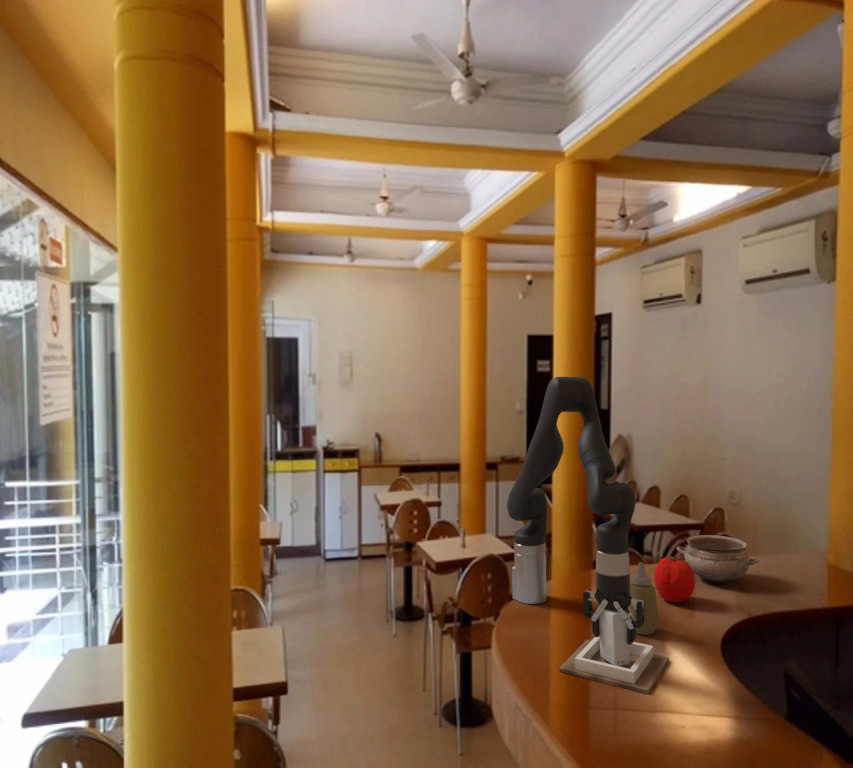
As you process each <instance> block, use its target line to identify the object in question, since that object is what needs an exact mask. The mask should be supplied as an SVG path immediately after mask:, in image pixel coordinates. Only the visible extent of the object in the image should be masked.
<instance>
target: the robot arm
mask: <svg viewBox="0 0 853 768" xmlns="http://www.w3.org/2000/svg"><path fill="white" fill-rule="evenodd" d="M541 407H542V408H541V412H540V416H539V419H538V422H537V425H536V428H535V431H534V433H533V437H532V438H531V442H530V444H529V446H528V448H527V449H528V450H527V452H526V454H525V455H526V456H525V459H524V461H523V465H522V466H521V470H520V472H519V475H518V476H517V478H516V480H515V482H514V484H513V486H512V487H511V490H510V492H509V495H508V497H507V503H506V509H507V513H508V515H509V518H511V519H512V520H513V521H520V522H521V521H523V522H524V521H527V523H526V524H525V525H524V526H522V527H521V528H519V529H517V530H515V531H514V534H513V542H514V543H513V548H514V549H513V550H514V551H513V553H514V566H512V568H511V575H512V576H511V579H512V580H511V582H512V586H511V587H512V599H513V600H516V601H518V602H520V603H522V604H528V605H530V604H531V605H534V604H535V605H536V604H537V605H538V604H541V603H545V601H546V600H547V573H546V572H547V569H546V567H547V566H546V563H547V562H546V535H547V527H548V526H547V525H548V523H547V521H548V501H547V496H546V493H545V492H544V491H543V490H542V488H539V487H538V486H539V485H541V484H542V483H543V482H545V480H547V479H548V478H549V477H550V476H551V475H552V474H553V473H555V471H556V470H557V468H558V466H559V465H560V461H561V459H562V456H563V454H564V450H565V447H564V441H563V438H562V436H561V433H560V431H559V429H558V419H559V417H560V415H561V413H579V414H580V416H581V418H582V421H583V426H582V429H581V433H580V436H579V440H578V446H577V450H578V455H579V459H580V461H581V462H580V463H581V465H582V466H583V470H584V473H585V477H586V485H587V486H586V487H587V503H588V506H589V508H590V510H591V511H592V512H593V513H594V514H596V515H598V516H609V515H613V516H612V518H611V519H610V520H609V521H606V522H604V523H602V524H601V523H600V524H599V525H598V526H597V527H596V556H595V583H596V584H595V585H596V591H593V590H591V589H589V588H588V589H586V590H585V591H584V592H583V593H582V601H583V602H582V604H583V616H584V617H585V618H589V619H590V620H591V632H592V634H593V635H594V637H599V636H600V635H599V616H600V615H601V613H602V611H603V610H604V609H605V610H612V611H617V612H619V613H620V614H621V617H622V619H623V620H624V621H625V622H626V624H627V626H628V629H627V642H628V644H629V645H631V644H632V643H633V642H635V641H636V640H637V633H636V628H641V627H642V625H643V624H644V614H645V601H644V600H643V599H640V600H637V599H632V597H631V595H630V584H631V576H630V575H631V572H630V571H631V565H630V561H631V560H630V555H629V530H630V527H631V524H632V522H631V521H632V519H633V515H634V512H635V507H636V495H635V491H634V489H633V488H632V486H631V485H630V484H629V483H626V482H615V483H613V482H612V483H603V482H605V481H607V480H610V479H611V478H612V477H614V475H615V474H616V465H615V463H614V460H613V458H612V455H611V453H610V450H609V448H608V445H607V443H606V440H605V436H604V433H603V429H602V425H601V419H600V414H599V410H598V405H597V400H596V395H595V392H594V389H593V387H592V384H591V382H590V381H589V379H587V378H585V377H581V376H556V377H555V376H554V377H553V378H552V379H551V380H550V381H549V383H548V385H547V388H546V391H545V395H544V399H543V403H542V406H541ZM594 598H595V600H596V602H597V603H598V607H597V608H596V610H595V611H593V601H594ZM630 604H633V606H634V609H636V621H635V619H634V618H633V616H632V612H631V611H630V609H629V605H630ZM625 611H626V612H627V613H628V614H626V613H625Z"/></svg>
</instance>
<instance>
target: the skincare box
mask: <svg viewBox="0 0 853 768" xmlns="http://www.w3.org/2000/svg"><path fill="white" fill-rule="evenodd" d="M625 613H626V614H628V613H627V612H626V611H625ZM627 629H628V626H627V624H626V622H625V621H624V620H623V619H622V617H621V614H620V613H619V612H617V611H612V610H605V609H604V610H603V611H602V613H601V615H600V616H599V635H600V655H601V657H602V658H604V659H605V660H607V661H608V662H610V663H611V664H612V665H615V666H623V665H627V664H629V663H630V654H629V644H628V642H627Z"/></svg>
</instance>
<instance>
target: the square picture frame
mask: <svg viewBox="0 0 853 768" xmlns="http://www.w3.org/2000/svg"><path fill="white" fill-rule="evenodd" d="M591 640H592V641H591V642H590V643H589V644H588V645H587V646H586V647H585V648H584V649H583V650H582V651H581V652H580V653H579V654H578V655H577V657H576V658H575V669H576V670H580V671H584V672H588V673H592V674H596V675H600V676H604V677H608V678H612V679H616V680H620V681H624V682H628V683H632V684H635V682H636V681H637V679H638V678H639V676H640V675H641V673H642V672H643V670H644V669H645V668H646V666H647V665H648V663H649V662H650V660H651V659H652V657H653V654H654V646H653V645H650V644H645V643H641V642H638V641H637V642H635V641H634V642H633V643H632V644H631V645H629V653H630V654H634V655H639V658H638V659H637V660H636V662H635V663H634V664H633V666H632V667H631V668H630V669H628V668H624V667H619V666H615V665H611V664H607V663H602V662H598V661H594V660H590V659H591V658H592V656H593V655H594V654H595V653H596V652H597V651H598V650H599V649H600V636H599V637H595V636H594V637H593V639H591Z"/></svg>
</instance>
